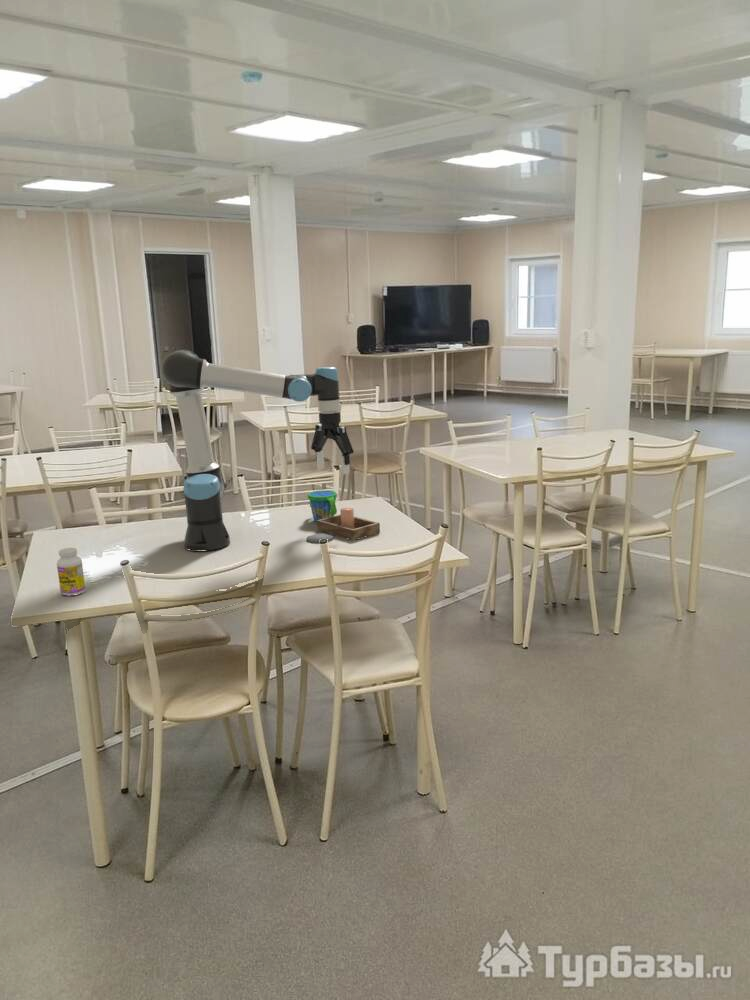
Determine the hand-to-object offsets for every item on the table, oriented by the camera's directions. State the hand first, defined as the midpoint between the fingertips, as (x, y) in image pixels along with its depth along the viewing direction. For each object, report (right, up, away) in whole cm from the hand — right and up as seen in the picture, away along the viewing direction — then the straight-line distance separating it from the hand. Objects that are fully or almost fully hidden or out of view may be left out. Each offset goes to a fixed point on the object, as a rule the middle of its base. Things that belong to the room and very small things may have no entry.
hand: (333, 471), depth 273 cm
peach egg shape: (+5, -21, -4) cm, 22 cm away
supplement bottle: (-71, -37, -54) cm, 96 cm away
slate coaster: (-4, -23, -12) cm, 27 cm away
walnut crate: (+5, -21, -4) cm, 22 cm away
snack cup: (-4, -18, +13) cm, 22 cm away
